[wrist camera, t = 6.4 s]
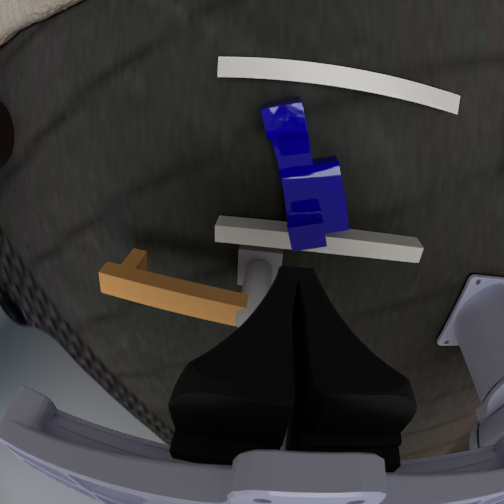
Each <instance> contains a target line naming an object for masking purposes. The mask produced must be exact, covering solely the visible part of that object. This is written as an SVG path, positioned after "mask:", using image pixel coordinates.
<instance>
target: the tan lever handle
mask: <svg viewBox="0 0 504 504" xmlns="http://www.w3.org/2000/svg"><path fill="white" fill-rule="evenodd" d="M271 278H272V268H271V266H270V265H269V264H268V263H267V262H265V261H263V260H254V261H252V262H250V263H249V264H248V265H247V268H246V272H245V277H244V281H243V286H242V290H241V293H240V292H235V291H230V290H226V289H221V288H217V287H212V286H208V285H203V284H199V283H194V282H190V281H186V280H181V279H177V278H173V277H169V276H164V275H160V274H156V273H152V272H148V271H147V251H143V250H139V249H135V248H133V250H132V251H131V252H130V253H129V255H128V256H127V257H126V259H125V260H124V261H123V263H122V264H121V265H120V264H116V263H112V262H108V261H107V262H106V263H105V265H104V266H103V267H102V268H101V270H100V271H99V279H100V287H101V292H102V293H106V294H109V295H113V296H116V297H120V298H123V299H127V300H130V301H134V302H138V303H141V304H145V305H149V306H153V307H156V308H160V309H164V310H168V311H172V312H176V313H180V314H184V315H188V316H193V317H197V318H201V319H205V320H210V321H214V322H219V323H223V324H228V325H232V326H237V327H238V328H239V327H240V326H241V325H242V324H243V323H244V322H245V321H246V320H247V318H248V317H249V316H250V315H251V314H252V313H253V312H254V310H255V309H256V308H257V306H258V305H259V304H260V302H261V301H262V300H263V298H264V297H265V295H266V294H267V292H268V290H269V289H270V287H271Z"/></svg>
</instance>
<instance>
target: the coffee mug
mask: <svg viewBox="0 0 504 504" xmlns="http://www.w3.org/2000/svg"><path fill="white" fill-rule="evenodd" d="M13 144H14V129H13V123H12V119H11V116H10V114H9V112H8V110H7V108H6V107H5V106H4V105H3V103H1V102H0V167H1V166H3V165H4V164H5V163H6V162H7V161H8V159H9V158H10V156H11V153H12V149H13Z"/></svg>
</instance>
